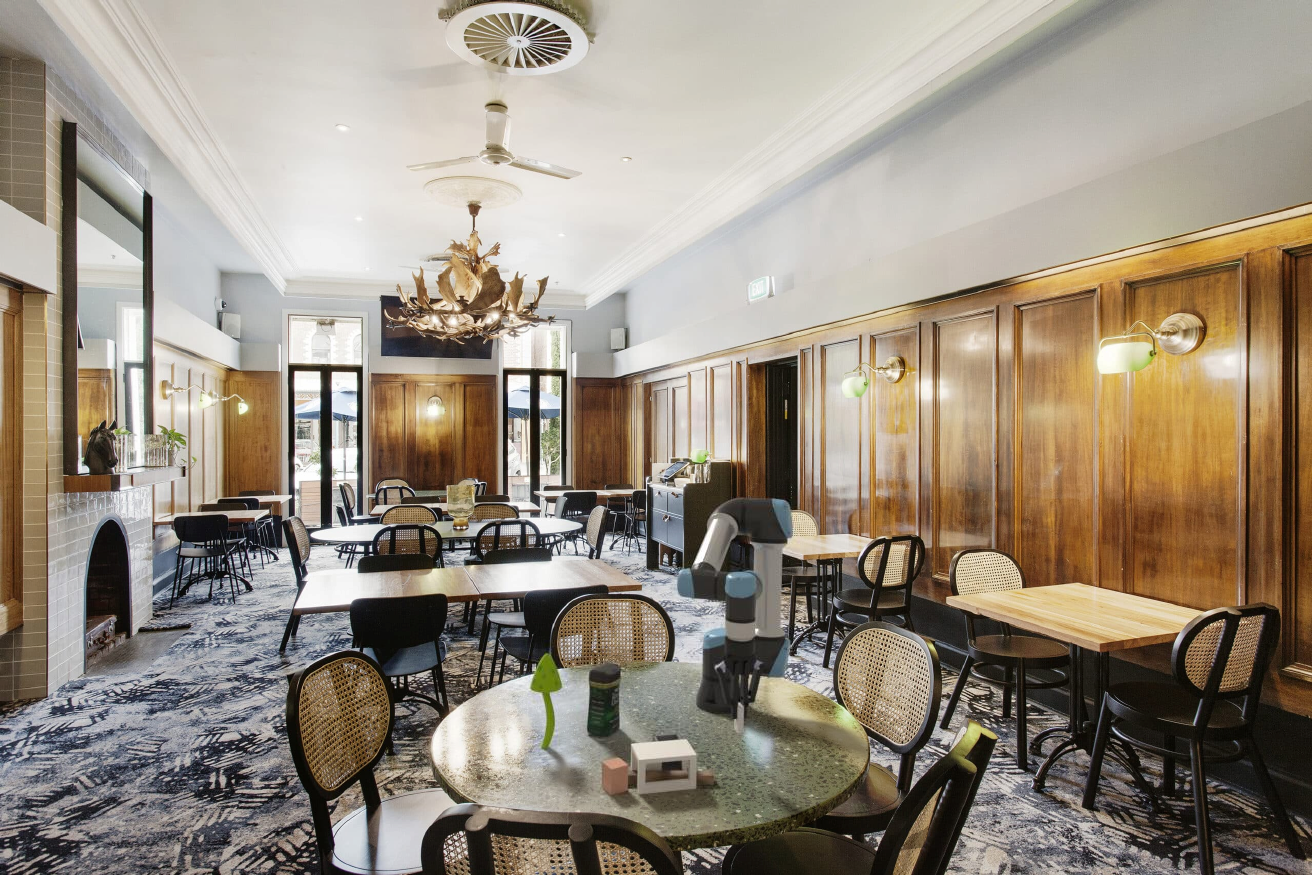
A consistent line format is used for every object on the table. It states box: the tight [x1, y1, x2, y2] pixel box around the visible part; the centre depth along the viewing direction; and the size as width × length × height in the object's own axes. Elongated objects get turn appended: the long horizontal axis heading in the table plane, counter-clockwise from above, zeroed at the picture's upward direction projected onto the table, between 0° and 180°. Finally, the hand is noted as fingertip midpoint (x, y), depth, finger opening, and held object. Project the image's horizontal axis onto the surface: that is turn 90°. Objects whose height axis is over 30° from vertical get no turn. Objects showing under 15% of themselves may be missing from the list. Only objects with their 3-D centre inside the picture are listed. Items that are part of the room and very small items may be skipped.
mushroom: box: [529, 652, 563, 750], centre depth 188 cm, size 8×8×25 cm
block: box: [601, 757, 629, 796], centre depth 167 cm, size 4×4×6 cm
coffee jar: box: [586, 661, 622, 738], centre depth 199 cm, size 10×8×19 cm
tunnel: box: [630, 732, 698, 795], centre depth 173 cm, size 14×15×8 cm
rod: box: [628, 769, 715, 786], centre depth 170 cm, size 22×2×2 cm, turn 92°
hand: (738, 730), depth 175 cm, fingers closed
